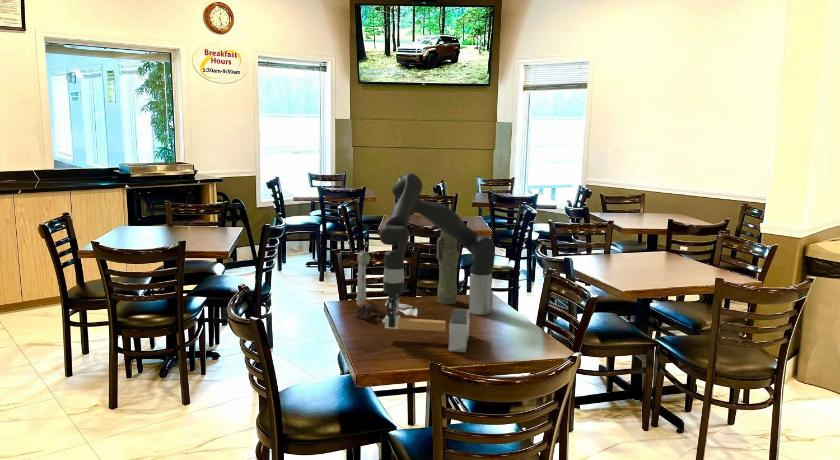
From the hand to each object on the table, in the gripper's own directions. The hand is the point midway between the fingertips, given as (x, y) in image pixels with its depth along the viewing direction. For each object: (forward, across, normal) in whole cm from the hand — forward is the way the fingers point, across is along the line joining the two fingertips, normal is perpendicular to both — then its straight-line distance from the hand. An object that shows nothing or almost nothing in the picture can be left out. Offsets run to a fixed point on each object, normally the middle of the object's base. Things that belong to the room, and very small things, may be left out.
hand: (392, 325), depth 232 cm
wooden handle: (+1, 0, +8) cm, 8 cm away
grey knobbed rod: (+5, -42, -21) cm, 47 cm away
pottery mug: (+6, -24, -16) cm, 30 cm away
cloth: (+6, -41, -3) cm, 42 cm away
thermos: (+5, -57, +15) cm, 60 cm away
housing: (+5, 0, +25) cm, 25 cm away
